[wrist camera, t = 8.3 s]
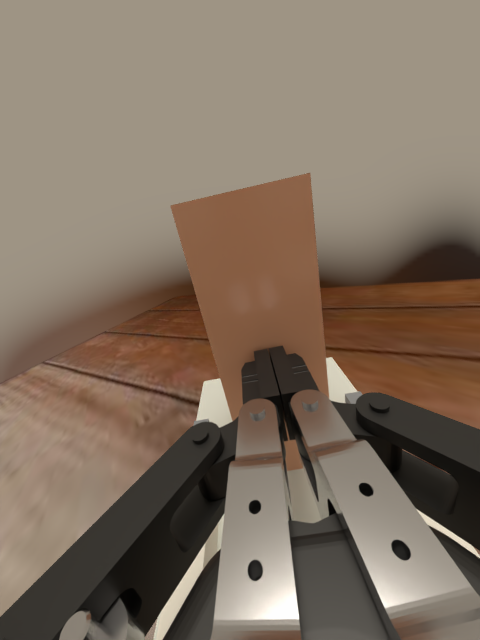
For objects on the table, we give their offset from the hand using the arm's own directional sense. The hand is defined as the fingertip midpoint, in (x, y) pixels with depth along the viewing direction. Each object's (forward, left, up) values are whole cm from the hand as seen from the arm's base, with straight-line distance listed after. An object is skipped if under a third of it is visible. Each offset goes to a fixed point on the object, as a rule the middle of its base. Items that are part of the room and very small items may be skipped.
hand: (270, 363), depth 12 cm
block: (0, +3, -8) cm, 9 cm away
